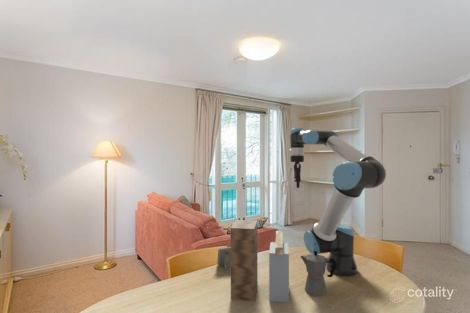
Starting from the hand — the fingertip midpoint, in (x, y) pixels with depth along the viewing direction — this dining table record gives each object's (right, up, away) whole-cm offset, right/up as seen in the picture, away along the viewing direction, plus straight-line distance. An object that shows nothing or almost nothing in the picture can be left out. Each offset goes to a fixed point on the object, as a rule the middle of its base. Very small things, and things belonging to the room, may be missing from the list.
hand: (297, 191), depth 160 cm
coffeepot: (+1, -39, -38) cm, 55 cm away
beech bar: (-16, -19, -36) cm, 44 cm away
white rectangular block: (-17, -39, -39) cm, 58 cm away
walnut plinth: (-32, -39, -38) cm, 63 cm away
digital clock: (-38, -39, -9) cm, 55 cm away
